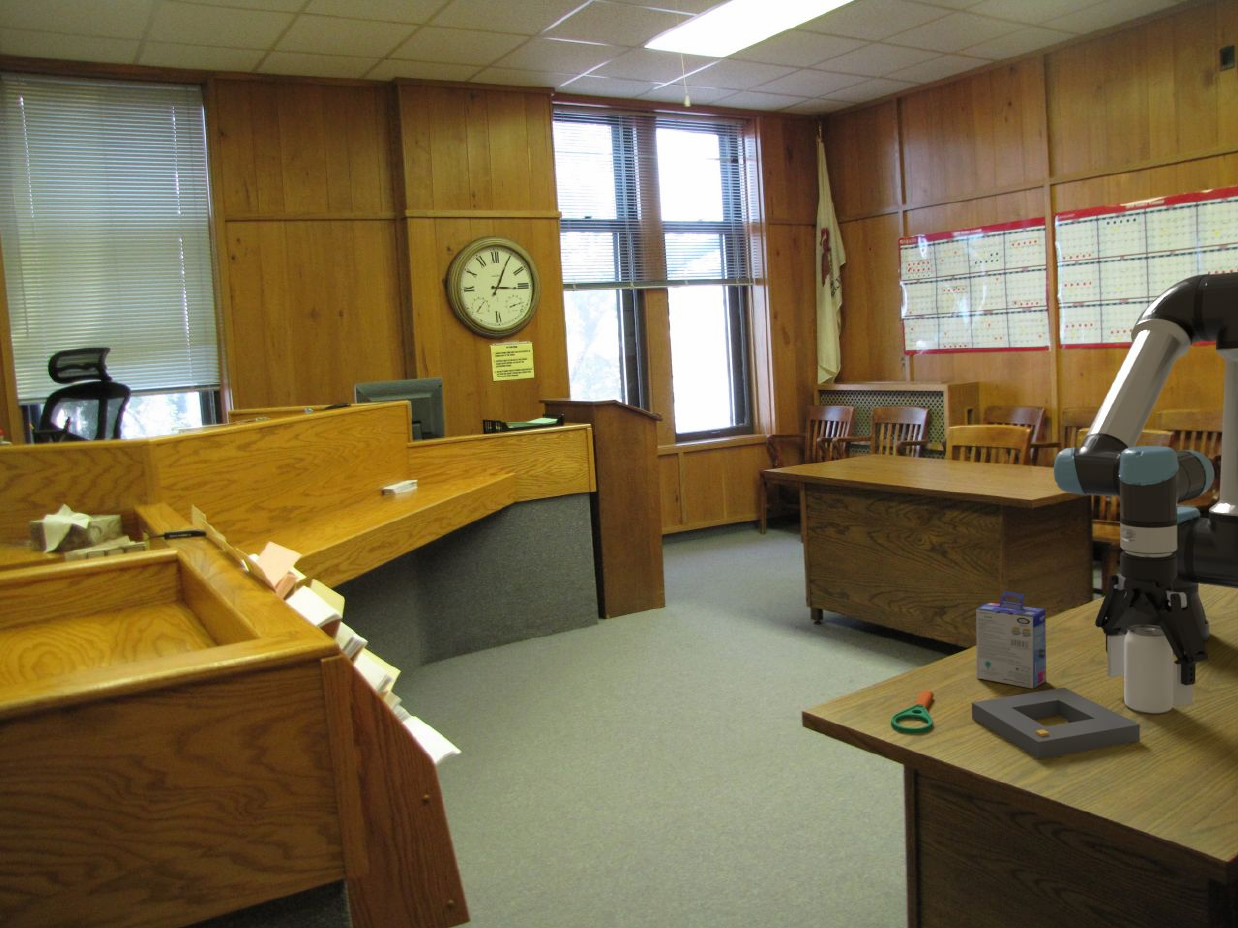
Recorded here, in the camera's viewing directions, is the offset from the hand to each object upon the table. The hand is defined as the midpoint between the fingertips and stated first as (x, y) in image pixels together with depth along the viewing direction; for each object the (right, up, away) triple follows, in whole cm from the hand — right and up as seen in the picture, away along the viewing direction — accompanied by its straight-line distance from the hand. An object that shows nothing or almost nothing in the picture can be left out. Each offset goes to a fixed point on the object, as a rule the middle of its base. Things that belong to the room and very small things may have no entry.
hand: (1148, 689), depth 153 cm
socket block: (-17, -5, -6) cm, 18 cm away
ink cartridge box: (-15, -2, +15) cm, 21 cm away
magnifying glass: (-34, -5, +3) cm, 34 cm away
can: (0, -3, 0) cm, 3 cm away
